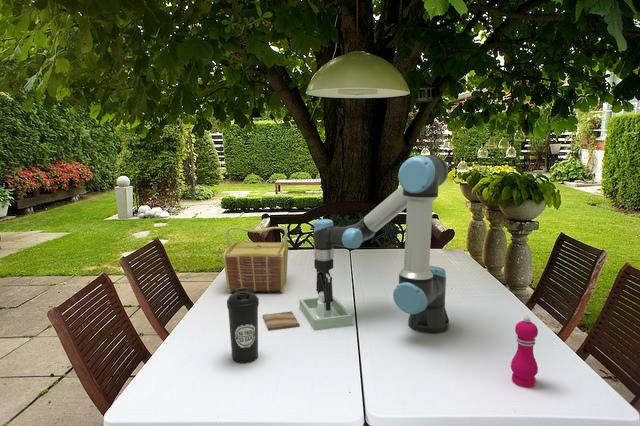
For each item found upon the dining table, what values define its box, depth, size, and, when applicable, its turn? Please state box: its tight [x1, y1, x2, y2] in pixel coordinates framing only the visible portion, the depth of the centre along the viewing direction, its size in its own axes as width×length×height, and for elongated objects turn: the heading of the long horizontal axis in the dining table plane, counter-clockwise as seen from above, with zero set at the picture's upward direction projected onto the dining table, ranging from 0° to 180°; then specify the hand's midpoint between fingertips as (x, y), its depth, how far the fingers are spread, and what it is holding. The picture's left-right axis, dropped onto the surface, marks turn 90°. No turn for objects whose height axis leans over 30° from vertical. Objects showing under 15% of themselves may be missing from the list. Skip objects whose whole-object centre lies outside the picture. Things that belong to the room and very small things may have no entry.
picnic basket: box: [222, 226, 289, 294], centre depth 222 cm, size 29×26×30 cm
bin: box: [299, 295, 353, 331], centre depth 187 cm, size 24×15×4 cm, turn 16°
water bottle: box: [226, 287, 260, 364], centre depth 152 cm, size 10×10×23 cm
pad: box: [262, 311, 301, 331], centre depth 183 cm, size 14×12×1 cm
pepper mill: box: [510, 316, 539, 388], centre depth 134 cm, size 7×7×20 cm
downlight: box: [315, 291, 334, 319], centre depth 187 cm, size 8×7×10 cm
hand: (324, 313), depth 187 cm, fingers closed on downlight, 8 cm apart
